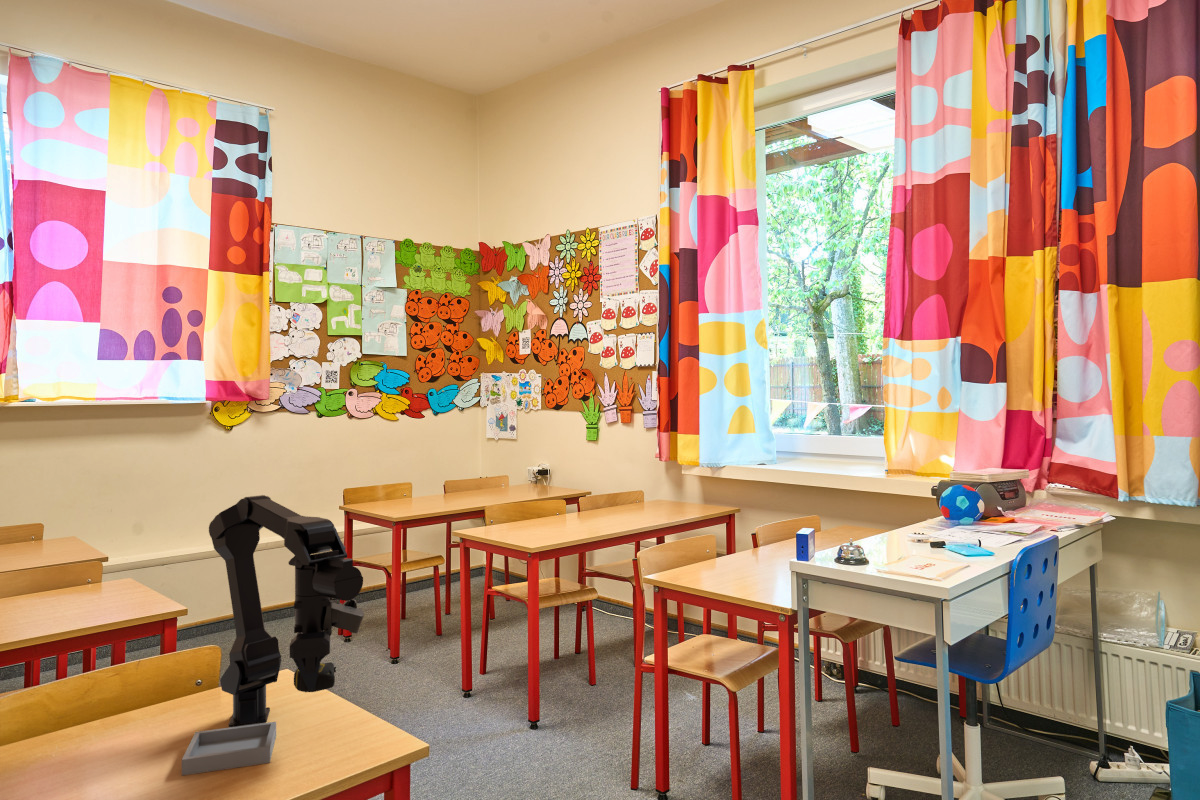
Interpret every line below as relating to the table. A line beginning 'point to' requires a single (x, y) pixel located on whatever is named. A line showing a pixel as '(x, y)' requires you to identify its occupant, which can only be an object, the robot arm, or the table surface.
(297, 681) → the tape measure
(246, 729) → the tray
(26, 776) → the table surface
